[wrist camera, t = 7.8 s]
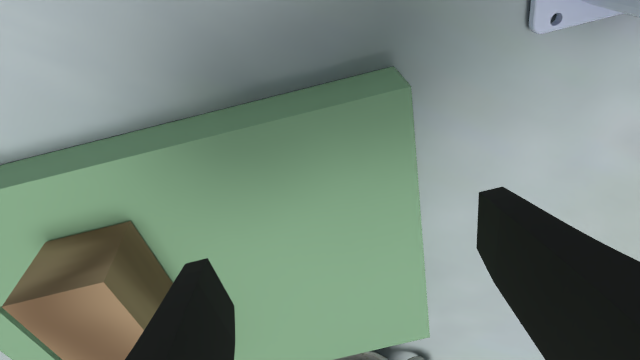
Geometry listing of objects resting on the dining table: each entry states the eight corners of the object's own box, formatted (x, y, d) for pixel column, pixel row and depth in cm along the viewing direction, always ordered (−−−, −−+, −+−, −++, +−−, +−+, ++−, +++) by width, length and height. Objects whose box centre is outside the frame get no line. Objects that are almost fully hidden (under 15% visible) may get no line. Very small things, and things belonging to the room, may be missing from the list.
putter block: (130, 221, 17) (103, 282, 14) (224, 359, 24) (219, 419, 21) (45, 242, 17) (1, 306, 14) (163, 374, 24) (150, 436, 21)
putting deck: (393, 66, 17) (500, 189, 9) (417, 306, 27) (477, 458, 20) (-150, 202, 18) (-474, 424, 10) (73, 387, 28) (0, 566, 20)
